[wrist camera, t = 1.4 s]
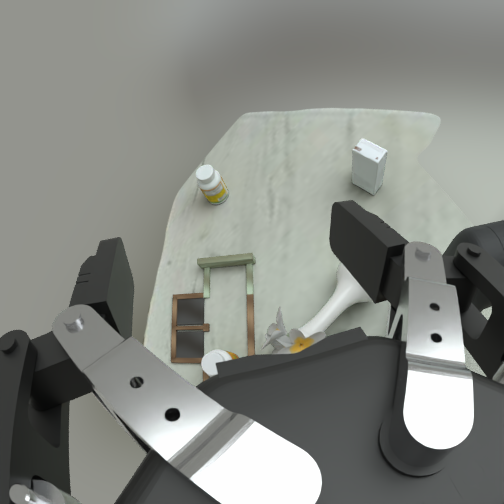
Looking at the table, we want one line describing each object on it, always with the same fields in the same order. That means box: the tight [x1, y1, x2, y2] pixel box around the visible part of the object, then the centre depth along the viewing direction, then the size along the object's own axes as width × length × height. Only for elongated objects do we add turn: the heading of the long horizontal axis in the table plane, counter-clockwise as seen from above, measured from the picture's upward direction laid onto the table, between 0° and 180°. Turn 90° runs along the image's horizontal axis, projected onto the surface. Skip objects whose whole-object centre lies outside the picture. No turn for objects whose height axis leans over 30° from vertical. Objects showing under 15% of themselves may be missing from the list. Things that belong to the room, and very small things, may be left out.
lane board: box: [171, 253, 255, 381], centre depth 62 cm, size 25×18×3 cm
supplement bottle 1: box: [196, 165, 229, 204], centre depth 70 cm, size 5×5×10 cm
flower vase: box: [261, 263, 372, 354], centre depth 53 cm, size 13×18×25 cm
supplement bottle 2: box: [201, 349, 239, 377], centre depth 55 cm, size 5×5×10 cm
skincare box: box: [352, 138, 387, 195], centre depth 62 cm, size 6×4×12 cm
